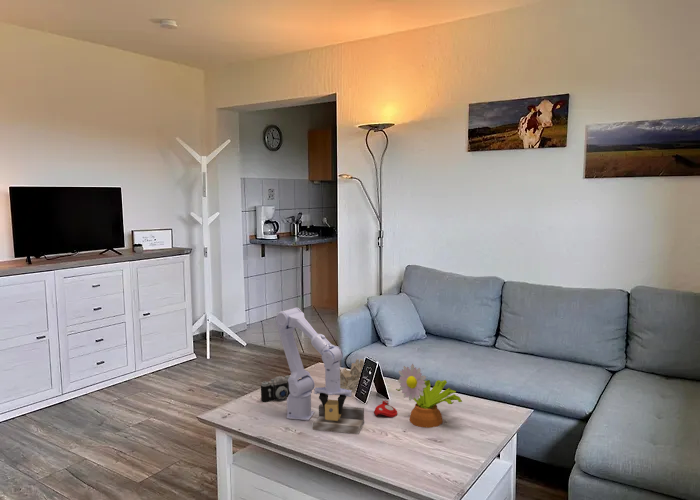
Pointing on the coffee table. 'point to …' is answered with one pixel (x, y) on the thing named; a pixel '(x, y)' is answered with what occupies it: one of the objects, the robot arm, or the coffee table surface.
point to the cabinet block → (332, 410)
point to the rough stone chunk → (351, 376)
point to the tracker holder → (385, 409)
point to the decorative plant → (424, 397)
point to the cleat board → (341, 421)
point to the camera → (275, 389)
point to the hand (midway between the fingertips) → (333, 412)
